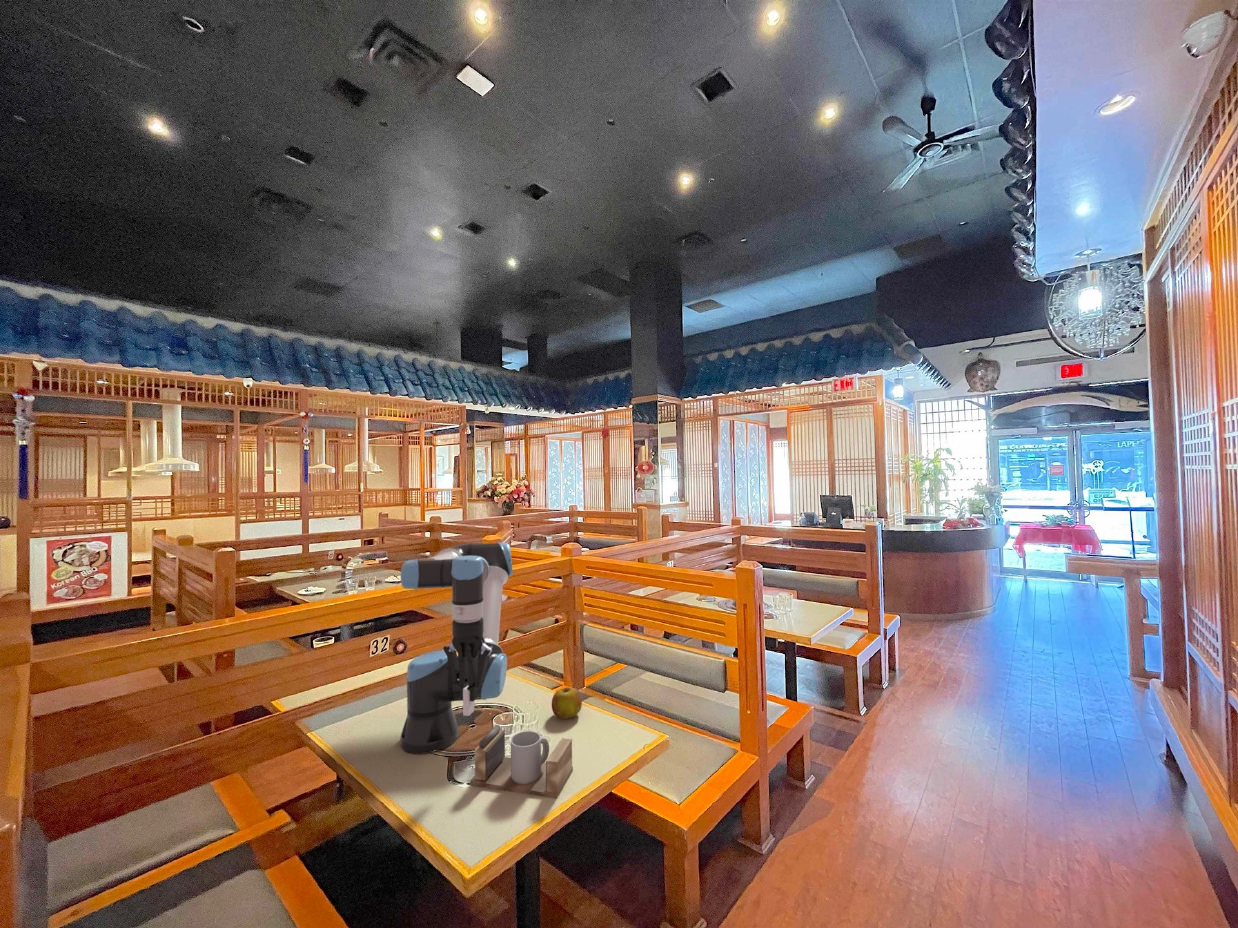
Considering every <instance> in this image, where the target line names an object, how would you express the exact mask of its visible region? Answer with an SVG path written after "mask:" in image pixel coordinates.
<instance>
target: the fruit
mask: <svg viewBox="0 0 1238 928" xmlns="http://www.w3.org/2000/svg"><path fill="white" fill-rule="evenodd" d="M580 694H581V693H580V692H579V691H578V690H577V689H575V688H573V687H563V688H561V689H559V690H557V691H556V692H555V693H554V694H553V696H552V699H551V710H552V712H553V714H554V716H555V717H557V718H558V719H563V720H564V719H569V718H572V717H574V716H576V715H578V714H579V713H580V711H581V709H582V706H583V701H582V696H581V695H580Z"/></svg>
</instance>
